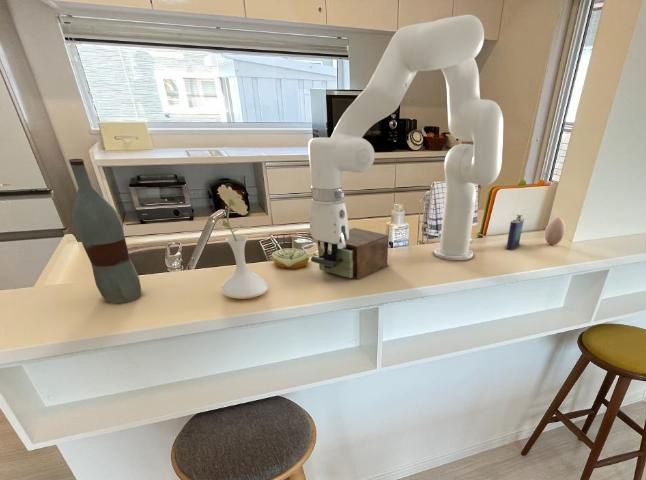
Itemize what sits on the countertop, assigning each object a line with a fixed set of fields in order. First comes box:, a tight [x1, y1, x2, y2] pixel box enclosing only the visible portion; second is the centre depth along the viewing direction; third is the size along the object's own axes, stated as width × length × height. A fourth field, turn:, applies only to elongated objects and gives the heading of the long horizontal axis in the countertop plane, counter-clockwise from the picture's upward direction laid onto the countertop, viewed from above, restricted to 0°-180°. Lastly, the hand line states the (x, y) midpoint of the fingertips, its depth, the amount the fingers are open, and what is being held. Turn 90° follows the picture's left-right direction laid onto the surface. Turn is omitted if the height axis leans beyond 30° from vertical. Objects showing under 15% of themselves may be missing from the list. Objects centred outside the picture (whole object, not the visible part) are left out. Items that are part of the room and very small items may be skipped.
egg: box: [544, 217, 566, 246], centre depth 147 cm, size 7×7×9 cm
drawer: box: [310, 244, 355, 279], centre depth 118 cm, size 19×11×7 cm, turn 145°
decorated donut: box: [271, 247, 310, 270], centre depth 124 cm, size 10×11×4 cm
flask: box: [505, 214, 525, 251], centre depth 143 cm, size 9×3×11 cm, turn 147°
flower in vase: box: [217, 184, 269, 300], centre depth 99 cm, size 13×11×25 cm
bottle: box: [68, 158, 142, 304], centre depth 94 cm, size 9×9×30 cm
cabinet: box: [345, 227, 389, 280], centre depth 122 cm, size 15×13×9 cm
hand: (330, 266), depth 115 cm, fingers closed
